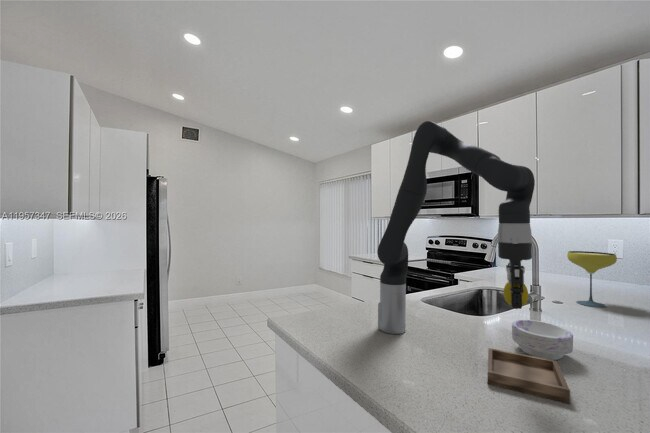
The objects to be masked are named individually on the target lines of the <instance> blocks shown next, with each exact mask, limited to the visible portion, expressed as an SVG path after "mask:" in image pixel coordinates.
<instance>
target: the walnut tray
mask: <svg viewBox="0 0 650 433" xmlns="http://www.w3.org/2000/svg"><path fill="white" fill-rule="evenodd" d="M487 351H488V352H487V385H490V386H494V387H500V388H502V389H507V390H511V391H514V392H515V391H516V392H519V393H523V394H527V395H530V396H536V397H538V398H539V397H540V398H543V399H544V398H545V399H548V400H553V401H556V402H561V403H565V404H568V405H571V402H570V401H571V393H570V392H571V389H570V387H569V385H568V383H567V380H566V379H565V376H564V374H563V372H562V370H561V367H560V365H559V364H558V361H557V360H549V359H544V358H539V357H534V356H531V355H529V354H523V353H517V352H512V351H506V350H500V349H497V348H493V347H492V348H491V347H490V348H489V347H488V348H487Z"/></svg>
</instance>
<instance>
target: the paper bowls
mask: <svg viewBox="0 0 650 433" xmlns="http://www.w3.org/2000/svg"><path fill="white" fill-rule="evenodd" d="M511 338H512V340H513V342H514V343H516V344H517V345H518V346H519V347H520V349H521V351H522V352H524V353H525V354H526V355H528V356H534V357H539V358H544V359H549V360H555V361H557V360H560V359H562V358H563V357H564V356H565V355H567V354H568V355H570V354H571V353H573V351H574V349H573V348H574V335H573V332H571V331H570V330H568V329H567V328H565V327H563V326H560V325H557V324H553V323H550V322H546V321H541V320H535V319H518V320H514V321H513V322H512V323H511Z"/></svg>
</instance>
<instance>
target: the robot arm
mask: <svg viewBox="0 0 650 433" xmlns="http://www.w3.org/2000/svg"><path fill="white" fill-rule="evenodd" d="M430 153H431V154H436V155H440V156H443V157H445V158H446V157H447V158H450V159H452V160H453V161H454V162H456V163H458V165H460V166H461V167H462V168H464V169H466V170H467V171H470V172H471V173H473V174H474V175H476V176H479V177H481V178H482V179H483V180H484V181H486V182H487V183H488V184H489V185H490V186H491V187H493V188H495V189H497V190H500V191H502V192H506V197H505V200H504V201H503V202H501V203H499V205H498V228H497V229H498V230H497V242H498V243H497V253H498V254H497V256H498V258H499V259H501V260H502V259H503V260H509V262H508V263H507V264H505V265H506V266H505V271H506V275H507V276H506V280H507V282H508V283H509V284H510V285H511V289H510V291H511V303H512V306H511V307H512V308H513V309H515V308H517V309H516V310H521V309H523V306H522V293H523V292H524V289H523V284H525V275H524V274H525V272H526V269H525V266H524V265H522V261H530V260H532V258H533V241H532V240H533V238H532V236H533V234H532V228H531V212H530V206H531V203H532V199H533V195H534V191H535V186H536V184H535V183H536V182H535V176H534V173H533V171H532V170H531V169H530V168H529V167H526V166H524V165H519V164H518V165H516V164H513V163H509V162H506V161H504V160H502V159H501V158H500V157H499V156H498V155H496V154H495V153H492V152H490V151H488V150H486V149H484V148H482V147H479V146H476V145H473V144H470V143H467V142H465V141H463V140H461V139H459V138H458V137H456V136H455V135H454V134H453V133H451V131H449V130H448V129H447V128H446V127H444V126H442V125H440V124H438V123H437V122H434V121H431V120H427V121H423V122H421V124H420V125H419V126H418V128H417V129H416V132H415V133H414V136H413V140H412V144H411V148H410V152H409V157H408V161H407V164H406V165H407V166H406V168H405V171H404V175H403V178H402V181H401V183H400V186H399V189H398V192H397V195H396V198H395V201H394V205H393V207H392V211H391V213H390V217H389V221H388V224H387V227H386V229H385V231H384V232H383V235H382V238H381V240H380V242H379V244H378V246H377V257H378V259H379V261H380V263H382V264H383V270H382V272H381V273H380V276H379V302H378V304H377V330H379V331H382V332H384V333H386V334H392V335H399V334H404V333H405V332H406V327H407V326H406V325H407V323H406V321H407V320H406V318H407V317H406V316H407V315H406V313H407V312H406V311H407V310H406V308H407V306H406V305H407V302H406V301H407V299H406V298H407V296H406V295H407V294H406V293H407V277H408V271H409V249H408V246H407V244H406V242H405V239H406V236H407V234H408V231H409V229H410V227H411V225H412V224H413V222H414V221H415V220H416V218H417V217H418V215H419V213H420V211H421V209H422V206H423V204H424V202H425V198H426V194H427V190H428V180H427V170H426V168H427V161H428V158H429V155H430ZM514 284H517V285H519V286H520V288H518V287H514Z"/></svg>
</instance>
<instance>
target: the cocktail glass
mask: <svg viewBox="0 0 650 433" xmlns="http://www.w3.org/2000/svg"><path fill="white" fill-rule="evenodd" d="M566 257H567V259H568V261H570V262H571V263H573V264H574V265H576V266H578V267H580V268H582V269H584V270H585V271H586V272H587V273H588V274H589V297H588V300H576V303H577V304H578V305H581V306H585V307H592V308H606V306H607V305H605V304H603V303H601V302H596V301H594V299H593V292H592V291H593V282H592V281H593V278H592V276H593V274H595V273H596V272H598V270H599V271H600V270H601V269H605V268H608V267H611V266H613V265H614V264H616V263H617V259H618V258H617V254H615V253H611V252H602V251H601V252H600V251H586V250H585V251H582V250H581V251H580V250H572V251H571V250H569V251H567V254H566Z"/></svg>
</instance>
